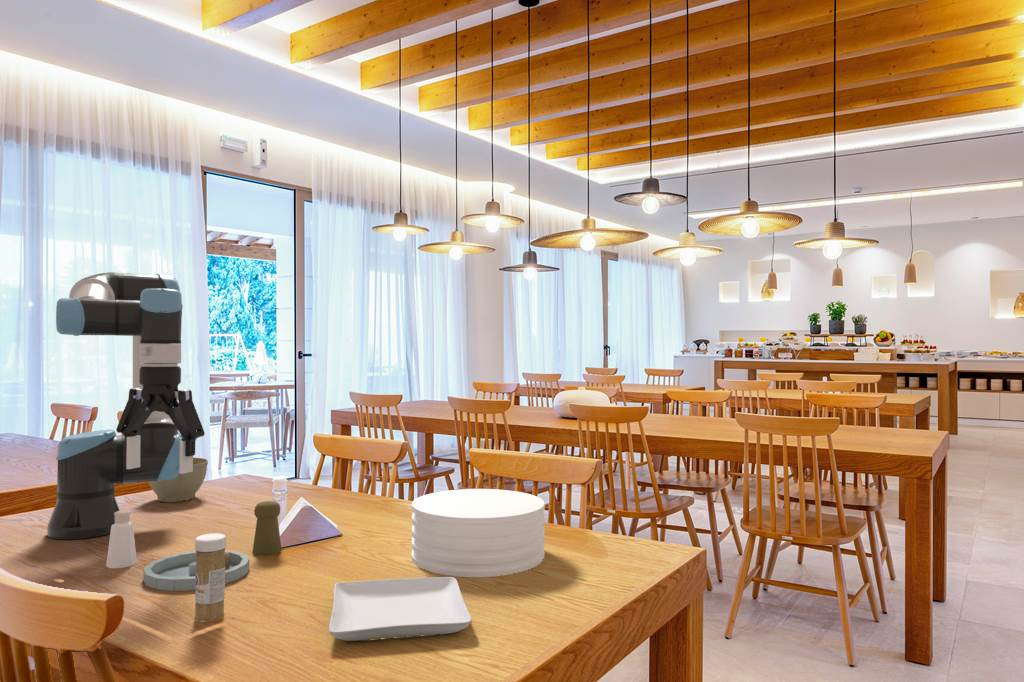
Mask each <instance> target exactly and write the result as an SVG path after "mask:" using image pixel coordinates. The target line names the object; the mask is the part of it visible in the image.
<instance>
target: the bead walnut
mask: <svg viewBox="0 0 1024 682" xmlns="http://www.w3.org/2000/svg"><path fill="white" fill-rule="evenodd" d="M228 569H230V553H228V552H225V570H228Z"/></svg>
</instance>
